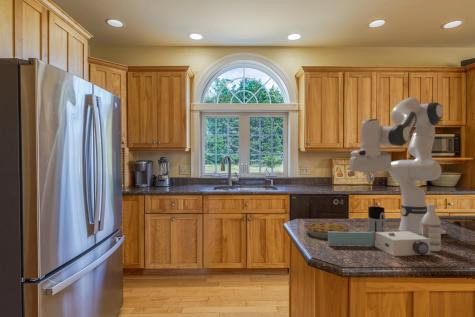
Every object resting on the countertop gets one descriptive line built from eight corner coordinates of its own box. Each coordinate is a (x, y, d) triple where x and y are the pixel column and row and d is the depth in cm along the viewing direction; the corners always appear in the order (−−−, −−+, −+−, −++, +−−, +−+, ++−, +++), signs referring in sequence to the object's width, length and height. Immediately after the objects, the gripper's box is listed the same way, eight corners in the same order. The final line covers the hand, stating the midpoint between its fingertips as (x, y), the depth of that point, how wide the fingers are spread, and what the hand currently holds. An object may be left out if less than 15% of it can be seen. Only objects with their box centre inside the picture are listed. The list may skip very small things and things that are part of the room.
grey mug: (381, 235, 156) (381, 206, 156) (394, 242, 142) (394, 211, 142) (364, 234, 156) (364, 206, 156) (375, 242, 142) (375, 211, 142)
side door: (375, 246, 135) (375, 232, 135) (328, 245, 137) (328, 231, 137) (373, 245, 137) (373, 231, 137) (327, 244, 139) (327, 230, 139)
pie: (352, 241, 145) (352, 231, 145) (306, 239, 149) (306, 229, 149) (345, 230, 166) (345, 221, 166) (305, 228, 171) (305, 220, 170)
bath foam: (423, 246, 137) (423, 202, 136) (441, 249, 132) (441, 203, 132) (420, 249, 131) (420, 204, 131) (439, 252, 127) (439, 205, 127)
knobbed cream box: (408, 245, 137) (408, 229, 137) (434, 256, 122) (434, 238, 122) (375, 246, 136) (375, 230, 136) (397, 258, 120) (397, 240, 120)
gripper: (386, 152, 150) (386, 180, 150) (347, 152, 147) (347, 180, 147) (394, 152, 143) (394, 181, 143) (353, 152, 141) (353, 181, 141)
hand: (370, 180), depth 145 cm, fingers closed
